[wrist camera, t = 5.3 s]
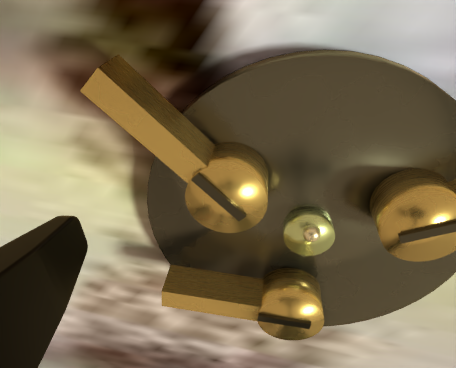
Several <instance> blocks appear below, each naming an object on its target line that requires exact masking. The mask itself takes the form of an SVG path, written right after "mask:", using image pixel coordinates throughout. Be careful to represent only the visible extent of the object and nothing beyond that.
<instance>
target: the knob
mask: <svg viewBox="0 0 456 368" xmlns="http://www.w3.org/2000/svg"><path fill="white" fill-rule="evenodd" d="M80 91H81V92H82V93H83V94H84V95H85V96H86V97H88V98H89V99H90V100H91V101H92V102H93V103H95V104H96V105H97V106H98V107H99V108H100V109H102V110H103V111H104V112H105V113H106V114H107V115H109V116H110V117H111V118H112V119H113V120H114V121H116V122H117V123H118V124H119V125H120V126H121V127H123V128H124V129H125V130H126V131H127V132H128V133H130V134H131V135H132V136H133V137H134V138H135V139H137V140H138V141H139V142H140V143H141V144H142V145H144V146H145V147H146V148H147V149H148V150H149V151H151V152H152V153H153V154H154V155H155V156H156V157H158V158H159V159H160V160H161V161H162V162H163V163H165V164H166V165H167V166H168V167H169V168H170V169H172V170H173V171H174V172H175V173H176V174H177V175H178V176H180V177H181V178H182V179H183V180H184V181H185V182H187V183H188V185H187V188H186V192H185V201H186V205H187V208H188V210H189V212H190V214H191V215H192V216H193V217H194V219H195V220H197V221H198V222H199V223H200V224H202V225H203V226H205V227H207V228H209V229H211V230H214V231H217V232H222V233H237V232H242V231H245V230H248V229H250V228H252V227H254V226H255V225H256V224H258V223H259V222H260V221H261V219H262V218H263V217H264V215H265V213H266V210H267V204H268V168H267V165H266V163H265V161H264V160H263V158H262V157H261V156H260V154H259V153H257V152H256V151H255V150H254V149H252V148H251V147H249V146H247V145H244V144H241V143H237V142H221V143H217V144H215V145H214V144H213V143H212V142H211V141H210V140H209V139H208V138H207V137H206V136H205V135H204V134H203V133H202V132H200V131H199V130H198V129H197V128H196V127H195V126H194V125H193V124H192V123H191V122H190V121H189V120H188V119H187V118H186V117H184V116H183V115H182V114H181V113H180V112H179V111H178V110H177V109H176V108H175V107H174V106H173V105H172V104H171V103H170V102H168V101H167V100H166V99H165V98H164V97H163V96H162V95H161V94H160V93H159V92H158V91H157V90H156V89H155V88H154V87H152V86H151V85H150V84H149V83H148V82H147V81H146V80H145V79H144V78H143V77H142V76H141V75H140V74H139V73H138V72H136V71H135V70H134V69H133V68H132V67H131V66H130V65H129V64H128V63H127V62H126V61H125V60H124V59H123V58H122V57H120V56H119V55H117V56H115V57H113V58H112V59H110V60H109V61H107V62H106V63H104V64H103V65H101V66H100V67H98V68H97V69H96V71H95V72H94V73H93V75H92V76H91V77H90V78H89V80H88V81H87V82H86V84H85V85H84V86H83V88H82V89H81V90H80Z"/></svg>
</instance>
